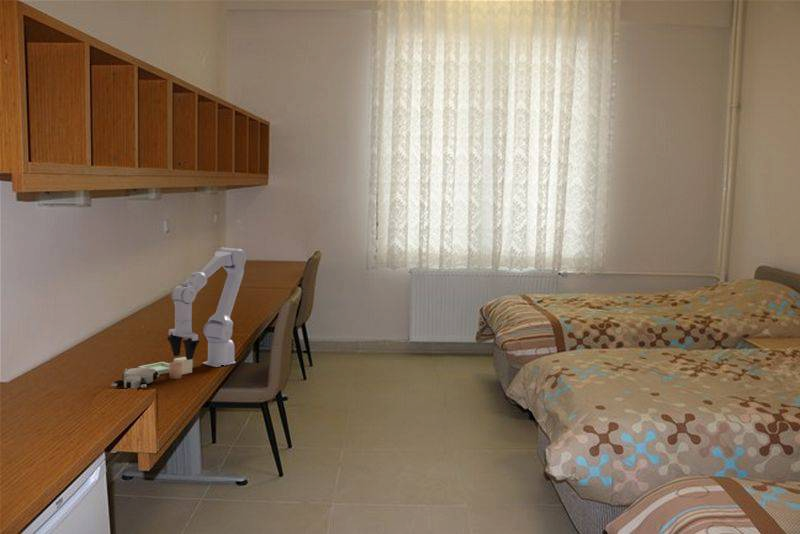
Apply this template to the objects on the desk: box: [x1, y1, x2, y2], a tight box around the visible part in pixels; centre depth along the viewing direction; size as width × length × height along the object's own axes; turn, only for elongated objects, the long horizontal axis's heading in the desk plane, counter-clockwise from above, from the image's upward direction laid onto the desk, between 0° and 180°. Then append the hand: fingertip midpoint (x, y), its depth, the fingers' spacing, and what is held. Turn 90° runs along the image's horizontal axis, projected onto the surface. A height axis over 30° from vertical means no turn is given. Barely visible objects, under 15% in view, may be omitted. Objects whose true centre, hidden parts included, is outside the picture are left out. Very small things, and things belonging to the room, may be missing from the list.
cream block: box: [173, 356, 193, 376], centre depth 253 cm, size 4×4×5 cm
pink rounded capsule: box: [168, 361, 182, 380], centre depth 246 cm, size 4×4×5 cm
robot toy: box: [111, 367, 162, 390], centre depth 234 cm, size 12×4×15 cm
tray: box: [137, 361, 170, 376], centre depth 254 cm, size 10×10×1 cm
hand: (183, 357), depth 253 cm, fingers open, 7 cm apart
